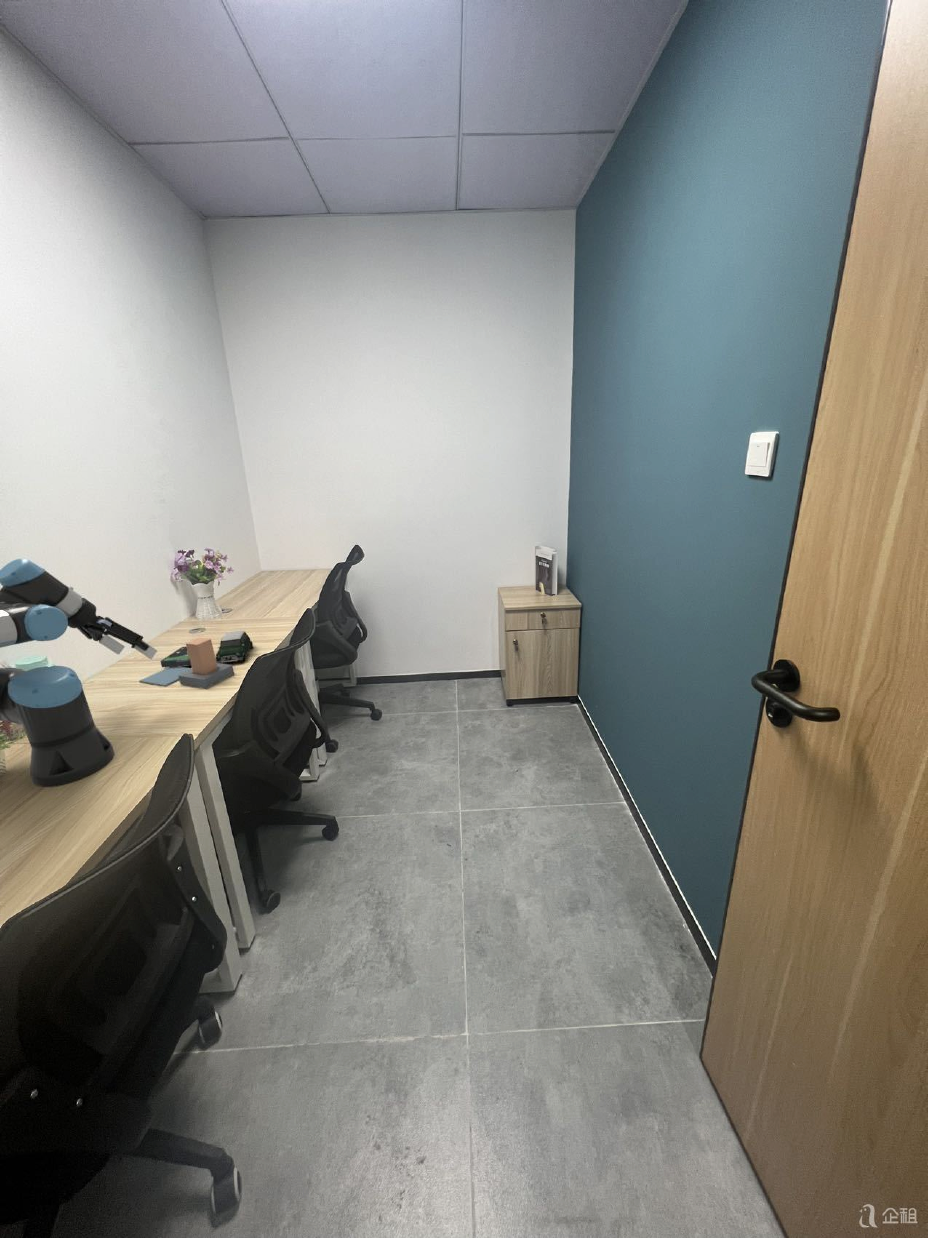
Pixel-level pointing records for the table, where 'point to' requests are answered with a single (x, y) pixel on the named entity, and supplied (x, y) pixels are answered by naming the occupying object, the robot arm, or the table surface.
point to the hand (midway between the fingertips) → (137, 652)
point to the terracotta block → (202, 656)
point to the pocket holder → (206, 676)
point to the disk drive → (177, 658)
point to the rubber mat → (165, 676)
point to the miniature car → (234, 647)
